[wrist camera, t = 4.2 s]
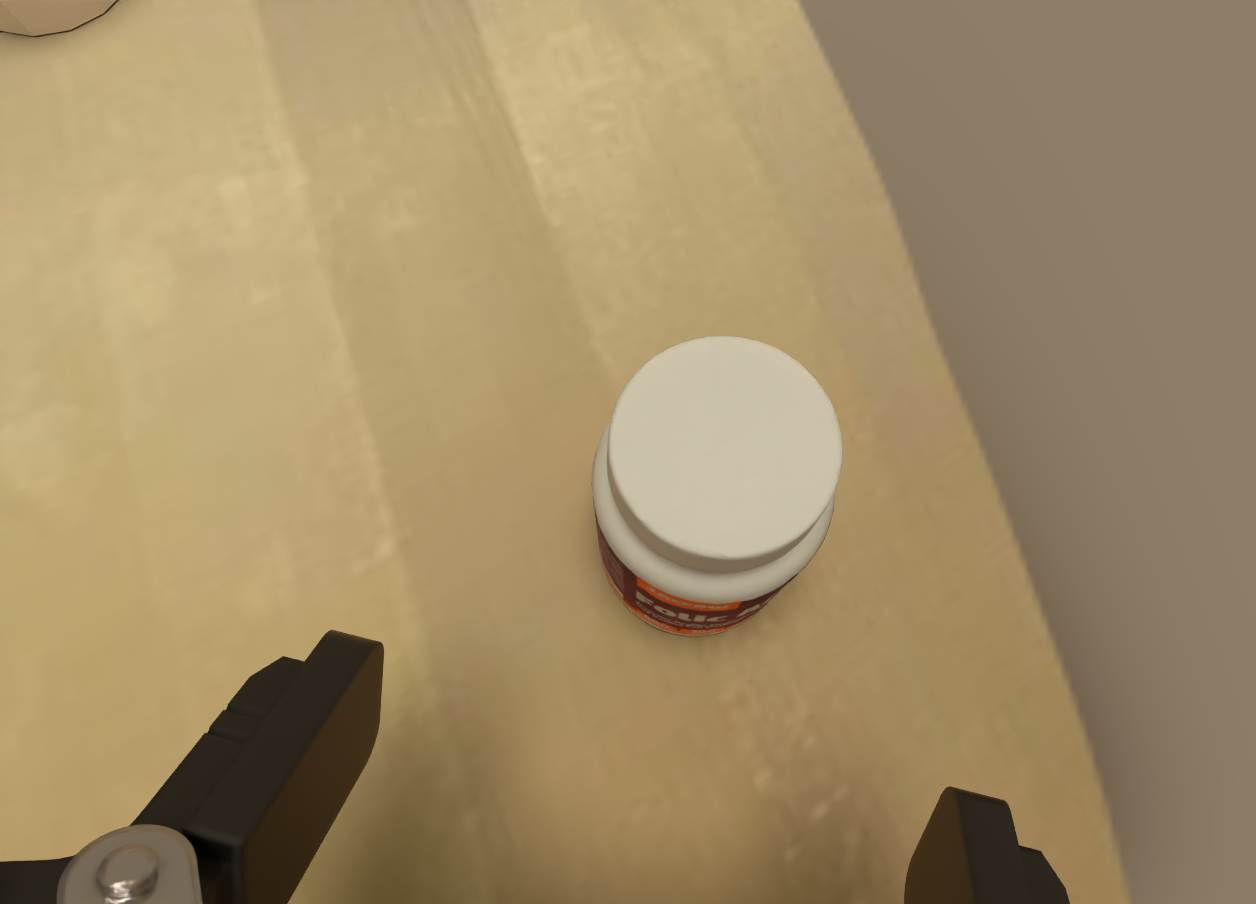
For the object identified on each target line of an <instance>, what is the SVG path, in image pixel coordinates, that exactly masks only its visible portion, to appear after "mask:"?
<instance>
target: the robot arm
mask: <svg viewBox="0 0 1256 904" xmlns="http://www.w3.org/2000/svg"><path fill="white" fill-rule="evenodd" d="M383 661H384V647H383V644H382V643H381V642H378V641H374V640H370V639H366V638H362V637H358V636H355V635H351V634H347V633H343V632H339V631H335V630H330V631H328V632H327V633H326V634H325V635H324V636H323V637H322V639H321V640H320V641H319V643H318V644H317V646H316V647H315V648H314V650H313V651H312V652H311V654H310V655H309V656H308V658H307V659H306V660H305V662H304V661H300V660H296V659H292V658H288V657H284V656H283V657H281V658H280V659H278V660H276V661H275V662H273V663H272V664H270V665H268V666H267V667H265V668H263V669H262V670H260V671H259V672H257V673H255V674H254V675H252V676H250V677H249V679H248V680H247V681H246V682H245V684H244V685H243V686H242V687H241V689H240V690H239V691H238V692H237V694H236V695H235V696H234V697H233V699H232V700H231V701H230V702H229V704H228V707H227V709H226V710H223V711H222V712H221V714H220V715H219V716H218V717H217V719H216V720H215V721H214V722H213V724H212V725H211V726H210V729H209V731H208V733H205V734H204V735H203V736H202V737H201V739H200V740H199V741H198V742H197V744H196V745H195V746H194V747H193V749H192V750H191V751H190V752H189V754H188V755H187V756H186V757H185V759H184V760H183V761H182V762H181V764H180V765H179V766H178V767H177V769H176V770H175V771H174V772H173V773H172V775H171V776H170V777H169V778H168V780H167V781H166V782H165V783H164V785H163V786H162V787H161V788H160V790H159V791H158V792H157V793H156V795H155V796H154V797H153V798H152V800H151V801H150V802H149V803H148V805H147V806H146V807H145V808H144V810H143V811H142V812H141V813H140V815H139V816H138V817H137V818H136V819H135V820H134V821H133V822H132V824H131V825H130V826H128V827H124V828H121V829H117V830H114V831H112V832H109V833H107V834H105V835H103V836H101V837H99V838H97V839H96V840H94V841H92V842H91V843H89V844H88V845H87V846H85V847H84V848H83V849H82V850H81V851H79V852H78V853H77V854H76V855H74V856H71V857H66V858H61V859H53V860H36V861H6V862H0V904H287V903H288V902H289V900H290V898H291V896H292V895H293V893H294V891H295V889H296V887H297V886H298V884H299V882H300V880H301V879H302V877H303V875H304V873H305V872H306V870H307V868H308V866H309V864H310V863H311V861H312V859H313V857H314V856H315V854H316V852H317V850H318V849H319V847H320V845H321V843H322V841H323V840H324V838H325V836H326V834H327V833H328V831H329V829H330V827H331V826H332V824H333V822H334V820H335V819H336V817H337V815H338V813H339V811H340V810H341V808H342V806H343V804H344V803H345V801H346V799H347V797H348V796H349V794H350V792H351V790H352V788H353V787H354V785H355V783H356V781H357V780H358V778H359V776H360V774H361V773H362V771H363V769H364V767H365V765H366V763H367V761H368V759H369V757H370V755H371V752H372V749H373V747H374V744H375V740H376V737H377V733H378V728H379V723H380V709H381V693H382V677H383ZM904 904H1070V903H1069V899H1068V895H1067V892H1066V888H1065V887H1064V885H1063V884H1062V882H1061V881H1060V879H1059V878H1058V876H1057V875H1056V873H1055V872H1054V870H1053V869H1052V867H1051V866H1050V864H1049V863H1048V861H1047V860H1046V858H1045V857H1044V855H1043V854H1042V852H1041V851H1039V850H1035V849H1031V848H1027V847H1023V846H1019V844H1018V840H1017V836H1016V832H1015V827H1014V823H1013V819H1012V815H1011V811H1010V808H1009V806H1008V804H1007V803H1006V802H1005V801H1004V800H1001V799H997V798H993V797H989V796H985V795H981V794H978V793H974V792H970V791H966V790H962V789H958V788H954V787H947V788H946V789H945V790H944V791H943V793H942V794H941V796H940V798H939V800H938V803H937V805H936V807H935V809H934V811H933V813H932V815H931V818H930V820H929V822H928V824H927V826H926V828H925V830H924V833H923V835H922V837H921V839H920V841H919V843H918V845H917V848H916V850H915V852H914V854H913V856H912V859H911V861H910V864H909V868H908V872H907V877H906V883H905V894H904Z"/></svg>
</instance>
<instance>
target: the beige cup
mask: <svg viewBox="0 0 1256 904" xmlns="http://www.w3.org/2000/svg"><path fill="white" fill-rule="evenodd" d="M115 1H116V0H0V31H4V32H11V33H17V34H23V35H29V36H38V35H44V34H50V33H56V32H62V31H68V30H71V29H73V28H75V27H77V26H79V25H81V24H83V23H85V22H87V21H89V20H91V19H93V18H95V17H97V16H99V15H101V14H103V13H104V12H105V11H106V10H107V9H108V8H109V7H110V6H111V5H112V4H113V3H114V2H115Z"/></svg>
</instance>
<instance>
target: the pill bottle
mask: <svg viewBox="0 0 1256 904" xmlns="http://www.w3.org/2000/svg"><path fill="white" fill-rule="evenodd" d="M842 457H843V451H842V437H841V432H840V426H839V422H838V419H837V416H836V413H835V411H834V408H833V406H832V404H831V402H830V400H829V398H828V396H827V394H826V393H825V391H824V390H823V388H822V387H821V386H820V384H819V383H818V382H817V380H816V379H815V378H814V377H813V376H812V375H811V374H810V373H809V372H808V371H807V370H806V369H805V368H804V367H803V366H802V365H801V364H800V363H798V362H797V361H796V360H794V359H793V358H792V357H790V356H788V355H787V354H785V353H784V352H782V351H780V350H778V349H776V348H775V347H772V346H770V345H768V344H765V343H763V342H759V341H756V340H752V339H747V338H741V337H735V336H710V337H703V338H697V339H692V340H688V341H685V342H682V343H679V344H677V345H674V346H672V347H670V348H669V349H667V350H665V351H663V352H661V353H660V354H658V355H656V356H655V357H654V358H652V359H651V360H650V361H648V362H647V363H646V364H645V365H644V366H643V367H642V368H640V369H639V370H638V371H637V373H636V374H635V375H634V376H633V377H632V378H631V379H630V381H629V382H628V383H627V385H626V386H625V388H624V390H623V391H622V393H621V395H620V396H619V398H618V400H617V402H616V404H615V407H614V411H613V414H612V418H611V419H610V421H609V423H608V424H607V426H606V428H605V430H604V432H603V434H602V437H601V439H600V442H599V445H598V447H597V450H596V454H595V458H594V462H593V468H592V483H591V485H592V491H593V503H594V509H595V517H596V524H597V532H598V540H599V547H600V554H601V559H602V563H603V567H604V570H605V573H606V576H607V578H608V580H609V582H610V584H611V586H612V588H613V590H614V591H615V593H616V594H617V596H618V597H619V599H620V600H621V601H622V602H623V603H624V604H625V606H626V607H627V608H628V609H629V610H630V611H632V612H633V613H634V614H635V615H637V616H638V617H639V618H641V619H642V620H644V621H645V622H647V623H648V624H650V625H652V626H654V627H656V628H658V629H661V630H663V631H666V632H670V633H674V634H678V635H685V636H704V635H712V634H716V633H720V632H723V631H726V630H729V629H732V628H734V627H736V626H738V625H740V624H741V623H743V622H745V621H746V620H748V619H750V618H751V617H752V616H753V615H755V614H756V613H757V612H758V611H759V610H761V609H762V608H763V607H764V606H765V605H766V604H767V602H768V601H769V600H771V599H772V598H773V597H774V596H775V595H776V594H777V593H778V592H779V591H780V590H781V589H782V588H783V587H784V586H785V585H786V584H787V583H788V582H790V581H791V580H792V579H793V578H794V577H796V576H797V574H798V573H799V572H800V571H801V570H803V569H804V568H805V566H806V565H807V564H808V563H809V562H810V560H811V559H812V558H813V557H814V555H815V554H816V552H817V550H818V549H819V547H820V546H821V544H822V543H823V541H824V539H825V536H826V533H827V530H828V528H829V525H830V521H831V518H832V514H833V509H834V497H835V490H836V487H837V485H838V481H839V475H840V471H841V466H842Z"/></svg>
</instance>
